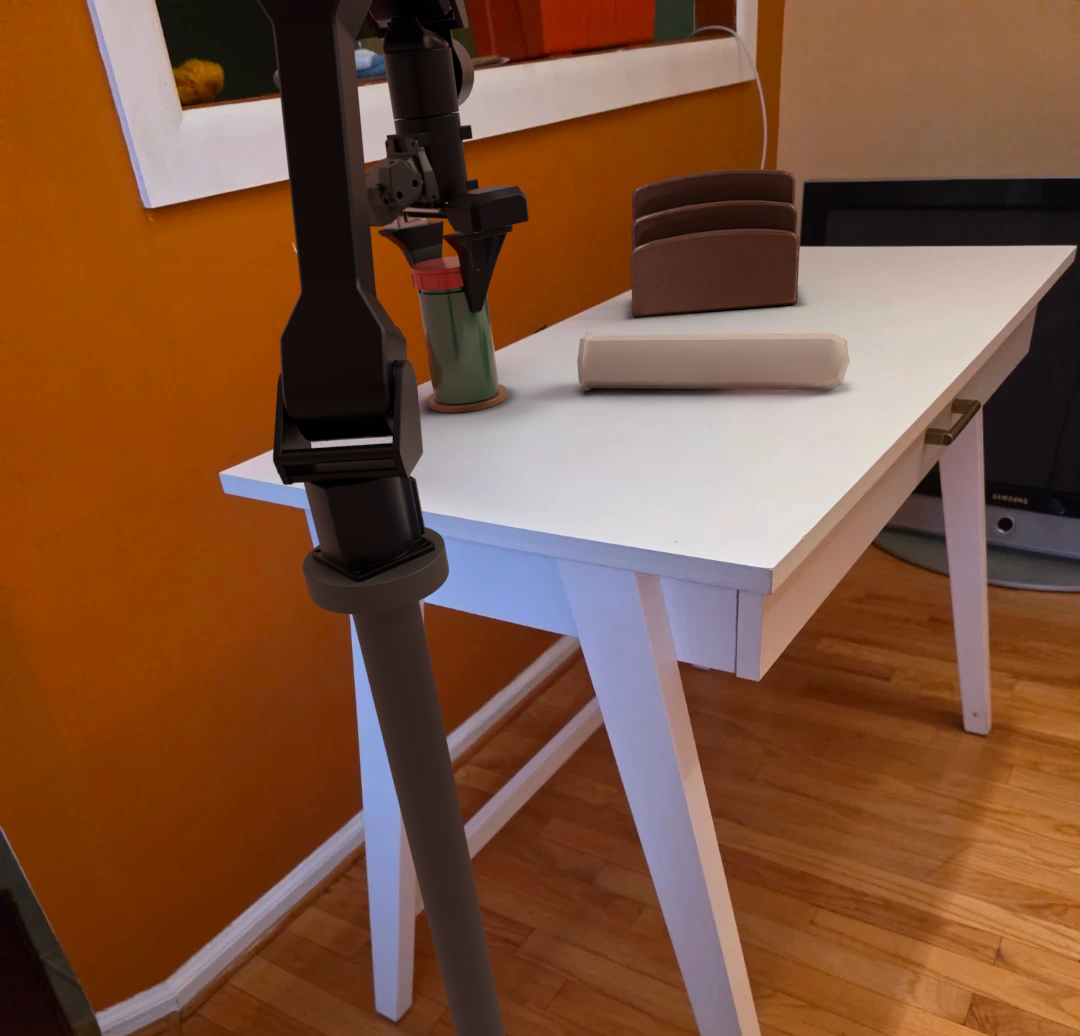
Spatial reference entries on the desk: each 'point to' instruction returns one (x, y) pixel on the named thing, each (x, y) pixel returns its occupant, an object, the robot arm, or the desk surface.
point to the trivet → (468, 406)
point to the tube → (713, 361)
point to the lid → (437, 274)
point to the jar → (458, 347)
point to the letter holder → (714, 242)
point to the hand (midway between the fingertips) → (454, 308)
